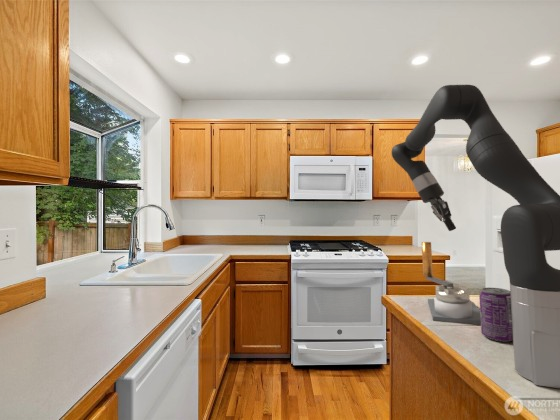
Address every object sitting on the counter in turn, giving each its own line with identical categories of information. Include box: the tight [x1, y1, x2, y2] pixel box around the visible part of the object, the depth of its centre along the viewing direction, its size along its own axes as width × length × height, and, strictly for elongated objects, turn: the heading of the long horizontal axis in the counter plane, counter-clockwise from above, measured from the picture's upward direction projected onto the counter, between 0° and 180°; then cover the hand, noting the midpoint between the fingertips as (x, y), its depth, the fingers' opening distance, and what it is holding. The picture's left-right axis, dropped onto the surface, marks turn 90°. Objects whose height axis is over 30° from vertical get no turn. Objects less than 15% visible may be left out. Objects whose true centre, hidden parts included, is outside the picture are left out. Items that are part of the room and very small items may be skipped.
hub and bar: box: [421, 241, 471, 303], centre depth 95 cm, size 19×9×16 cm, turn 3°
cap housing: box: [427, 296, 481, 326], centre depth 94 cm, size 20×14×5 cm
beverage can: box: [478, 287, 513, 343], centre depth 74 cm, size 7×7×12 cm
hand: (452, 229), depth 102 cm, fingers closed
